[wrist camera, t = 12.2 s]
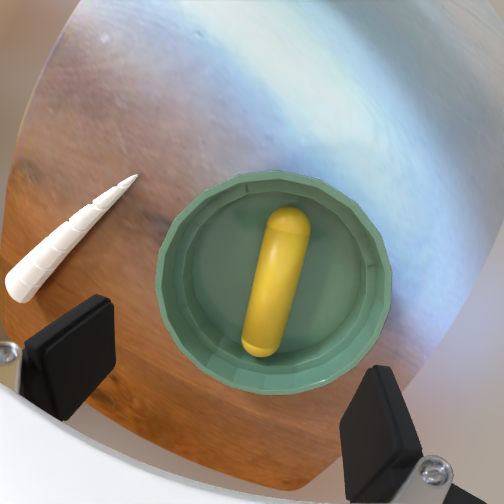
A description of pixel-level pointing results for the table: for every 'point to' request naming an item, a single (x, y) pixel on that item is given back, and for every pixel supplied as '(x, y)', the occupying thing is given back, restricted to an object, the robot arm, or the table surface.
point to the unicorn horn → (59, 245)
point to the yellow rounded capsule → (275, 280)
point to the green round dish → (242, 276)
